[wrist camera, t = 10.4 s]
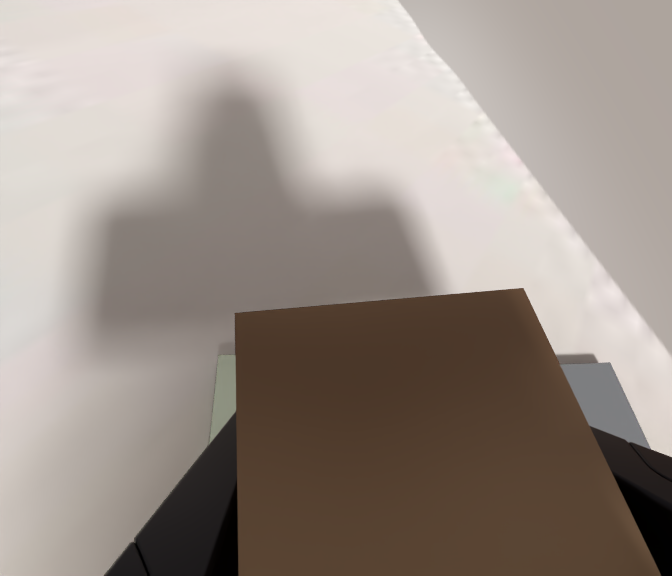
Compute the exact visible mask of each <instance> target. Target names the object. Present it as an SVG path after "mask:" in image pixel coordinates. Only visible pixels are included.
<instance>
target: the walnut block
mask: <svg viewBox="0 0 672 576" xmlns="http://www.w3.org/2000/svg"><path fill="white" fill-rule="evenodd" d="M235 358H236V430H237V501H238V573H239V576H661V574H660V572H659V570H658V568H657V566H656V564H655V562H654V560H653V557H652V555H651V553H650V551H649V549H648V547H647V545H646V543H645V541H644V539H643V537H642V535H641V532H640V530H639V528H638V526H637V524H636V522H635V520H634V518H633V516H632V514H631V512H630V510H629V507H628V505H627V503H626V501H625V499H624V497H623V495H622V493H621V491H620V489H619V487H618V484H617V482H616V480H615V478H614V476H613V474H612V472H611V470H610V468H609V466H608V464H607V462H606V459H605V457H604V455H603V453H602V451H601V449H600V447H599V445H598V443H597V441H596V439H595V437H594V434H593V432H592V430H591V428H590V426H589V424H588V422H587V420H586V418H585V416H584V414H583V412H582V409H581V407H580V405H579V403H578V401H577V399H576V397H575V395H574V393H573V391H572V389H571V387H570V384H569V382H568V380H567V378H566V376H565V374H564V372H563V370H562V368H561V366H560V364H559V362H558V359H557V357H556V355H555V353H554V351H553V349H552V347H551V345H550V343H549V341H548V339H547V336H546V334H545V332H544V330H543V328H542V326H541V324H540V322H539V320H538V318H537V316H536V314H535V311H534V309H533V307H532V305H531V303H530V301H529V299H528V297H527V295H526V293H525V291H524V289H523V288H518V289H507V290H495V291H484V292H472V293H461V294H449V295H438V296H426V297H415V298H403V299H392V300H380V301H369V302H357V303H346V304H334V305H322V306H311V307H299V308H288V309H276V310H265V311H253V312H242V313H235Z"/></svg>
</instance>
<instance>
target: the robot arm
mask: <svg viewBox="0 0 672 576" xmlns="http://www.w3.org/2000/svg"><path fill="white" fill-rule="evenodd" d="M590 428H591V430H592V432H593V434H594V437H595V439H596V441H597V443H598V445H599V447H600V449H601V451H602V453H603V455H604V457H605V459H606V462H607V464H608V466H609V468H610V470H611V472H612V474H613V476H614V478H615V480H616V482H617V484H618V487H619V489H620V491H621V493H622V495H623V497H624V499H625V501H626V503H627V505H628V507H629V510H630V512H631V514H632V516H633V518H634V520H635V522H636V524H637V526H638V528H639V530H640V532H641V535H642V537H643V539H644V541H645V543H646V545H647V547H648V549H649V551H650V553H651V555H652V557H653V560H654V562H655V564H656V566H657V568H658V570H659V572H660V574H661V576H672V457H669V456H667V455H664V454H662V453H659V452H656V451H654V450H651V449H648V448H646V447H643V446H641V445H638V444H636V443H633V442H627V440H625V439H623V438H620V437H618V436H615V435H612V434H610V433H607V432H605V431H602V430H600V429H597V428H595V427H592V426H590ZM104 576H239V573H238V501H237V430H236V411H235V413H234V414H233V415H232V416H231V418H230V419H229V420H228V421H227V423H226V424H225V425H224V426H223V428H222V429H221V430H220V431H219V433H218V434H217V435H216V436H215V438H214V439H213V440H212V441H211V443H210V444H209V445H208V446H207V448H206V449H205V450H204V451H203V453H202V454H201V455H200V456H199V458H198V459H197V460H196V461H195V463H194V464H193V465H192V466H191V468H190V469H189V470H188V472H187V473H186V474H185V475H184V477H183V478H182V479H181V480H180V482H179V483H178V484H177V485H176V487H175V488H174V489H173V490H172V492H171V493H170V494H169V495H168V497H167V498H166V499H165V500H164V502H163V503H162V504H161V505H160V507H159V508H158V509H157V510H156V512H155V513H154V514H153V515H152V517H151V518H150V519H149V520H148V522H147V523H146V524H145V525H144V527H143V528H142V529H141V530H140V532H139V533H138V534H137V535H136V537H135V538H134V542H132V543H130V544H129V545H128V546H127V548H126V549H125V550H124V551H123V553H122V554H121V555H120V556H119V558H118V559H117V560H116V561H115V563H114V564H113V565H112V566H111V568H110V569H109V570H108V571H107V572H106V574H105V575H104Z"/></svg>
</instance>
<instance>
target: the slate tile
mask: <svg viewBox="0 0 672 576" xmlns="http://www.w3.org/2000/svg"><path fill="white" fill-rule="evenodd" d="M560 366H561V368H562V370H563V372H564V374H565V376H566V378H567V380H568V382H569V384H570V387H571V389H572V391H573V393H574V395H575V397H576V399H577V401H578V403H579V405H580V407H581V409H582V412H583V414H584V416H585V418H586V420H587V422H588V424H589V426H592V427H595V428H597V429H600V430H602V431H605V432H607V433H610V434H612V435H615V436H618V437H620V438H623V439H625V440H627V442H633V443H636V444H638V445H641V446H643V447H646V448H648V449H651V448H650V446H649V444H648V442H647V440H646V438H645V436H644V433H643V431H642V429H641V427H640V425H639V423H638V421H637V419H636V416H635V414H634V412H633V410H632V408H631V406H630V404H629V402H628V399H627V397H626V395H625V393H624V391H623V389H622V387H621V385H620V382H619V380H618V378H617V376H616V374H615V372H614V370H613V368H612V365H611V363H583V364H560Z"/></svg>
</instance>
